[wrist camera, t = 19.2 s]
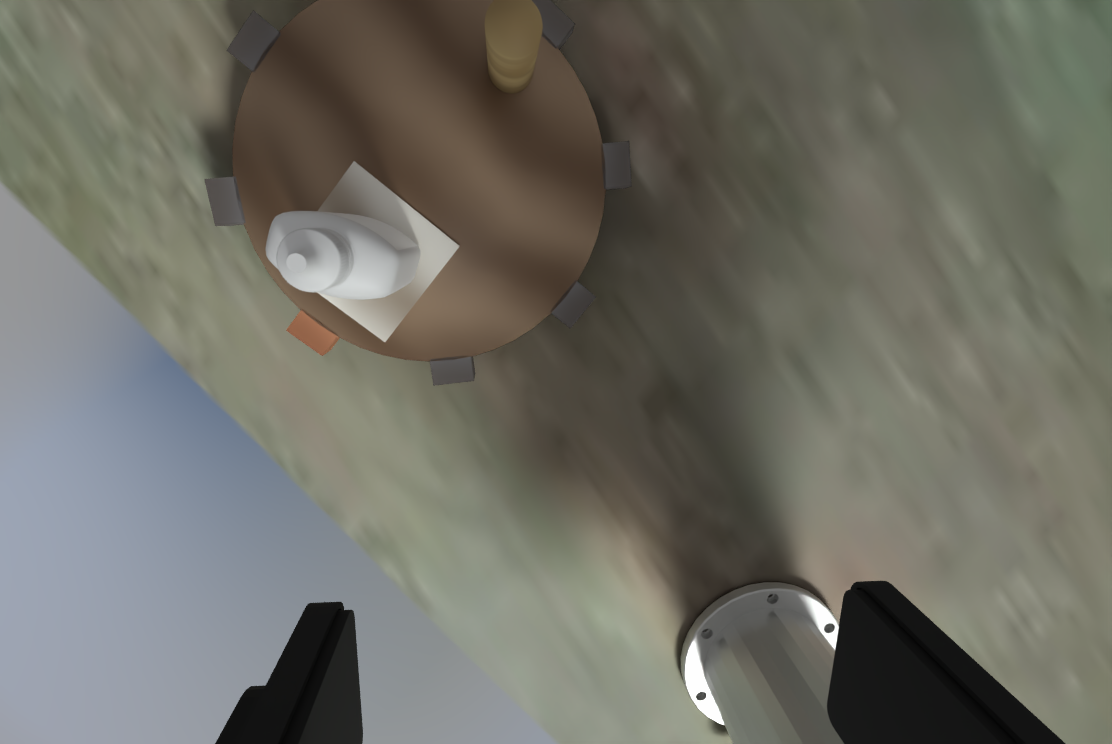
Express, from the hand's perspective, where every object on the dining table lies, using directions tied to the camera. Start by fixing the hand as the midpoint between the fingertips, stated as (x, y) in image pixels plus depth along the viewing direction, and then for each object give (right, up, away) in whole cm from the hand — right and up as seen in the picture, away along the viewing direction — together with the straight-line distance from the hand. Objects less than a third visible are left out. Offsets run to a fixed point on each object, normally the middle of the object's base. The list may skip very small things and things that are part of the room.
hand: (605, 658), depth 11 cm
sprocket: (-8, +16, +23) cm, 29 cm away
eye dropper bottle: (-11, +12, +22) cm, 27 cm away
